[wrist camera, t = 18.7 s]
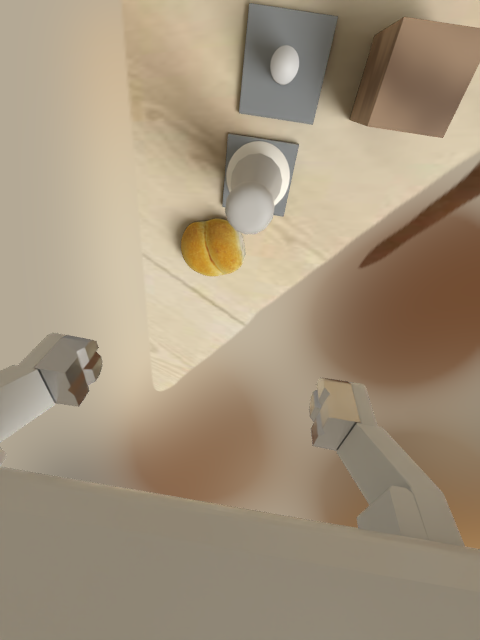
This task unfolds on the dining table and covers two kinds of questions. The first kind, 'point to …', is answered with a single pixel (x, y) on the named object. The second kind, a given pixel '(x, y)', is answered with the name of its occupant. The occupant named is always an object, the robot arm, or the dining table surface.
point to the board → (309, 62)
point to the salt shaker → (253, 193)
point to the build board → (276, 150)
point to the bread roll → (213, 247)
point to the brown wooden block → (417, 76)
